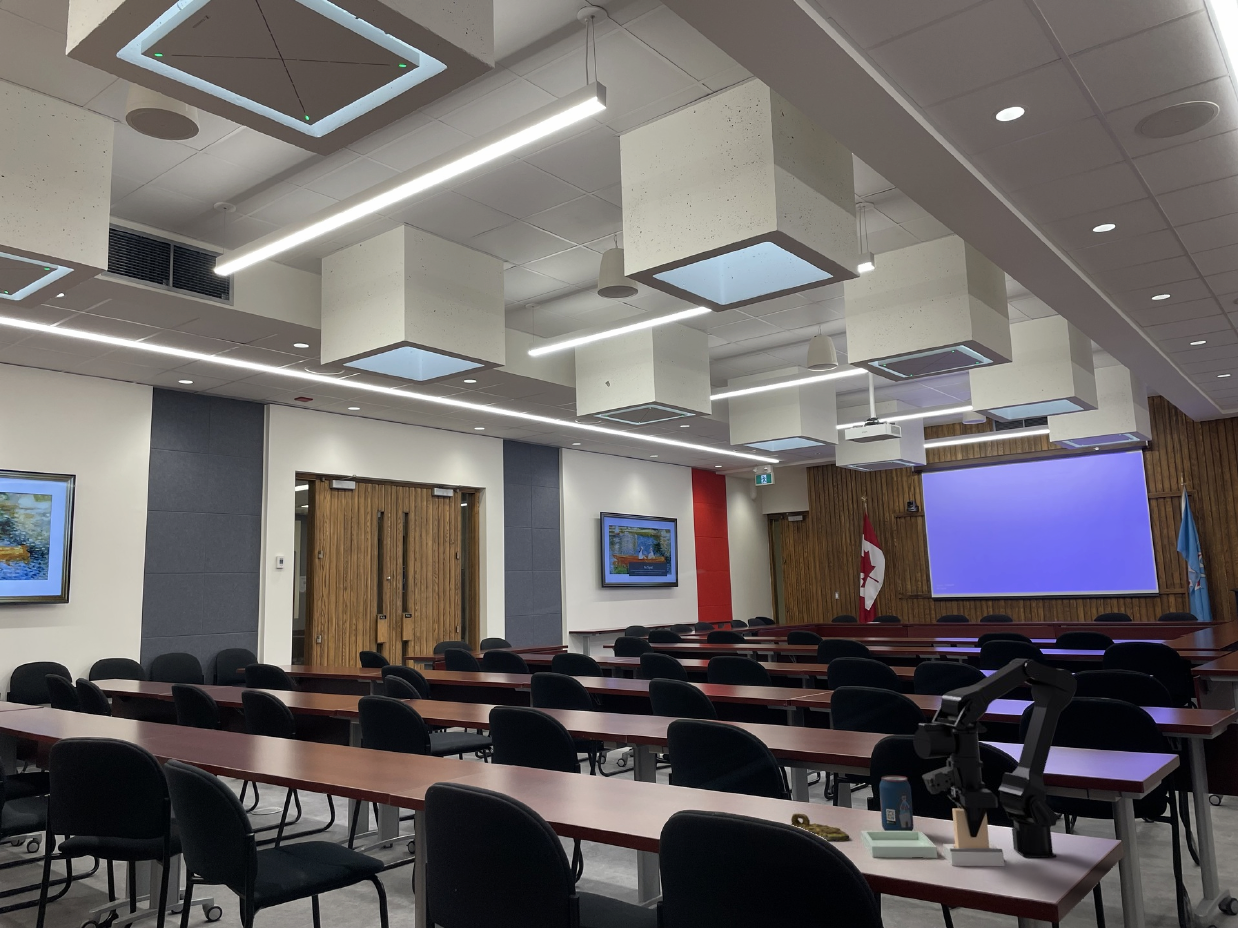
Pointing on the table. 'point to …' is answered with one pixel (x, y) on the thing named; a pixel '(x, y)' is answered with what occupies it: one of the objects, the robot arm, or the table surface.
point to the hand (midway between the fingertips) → (971, 835)
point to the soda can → (896, 804)
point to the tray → (898, 844)
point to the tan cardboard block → (963, 833)
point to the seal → (819, 829)
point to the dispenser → (973, 856)
